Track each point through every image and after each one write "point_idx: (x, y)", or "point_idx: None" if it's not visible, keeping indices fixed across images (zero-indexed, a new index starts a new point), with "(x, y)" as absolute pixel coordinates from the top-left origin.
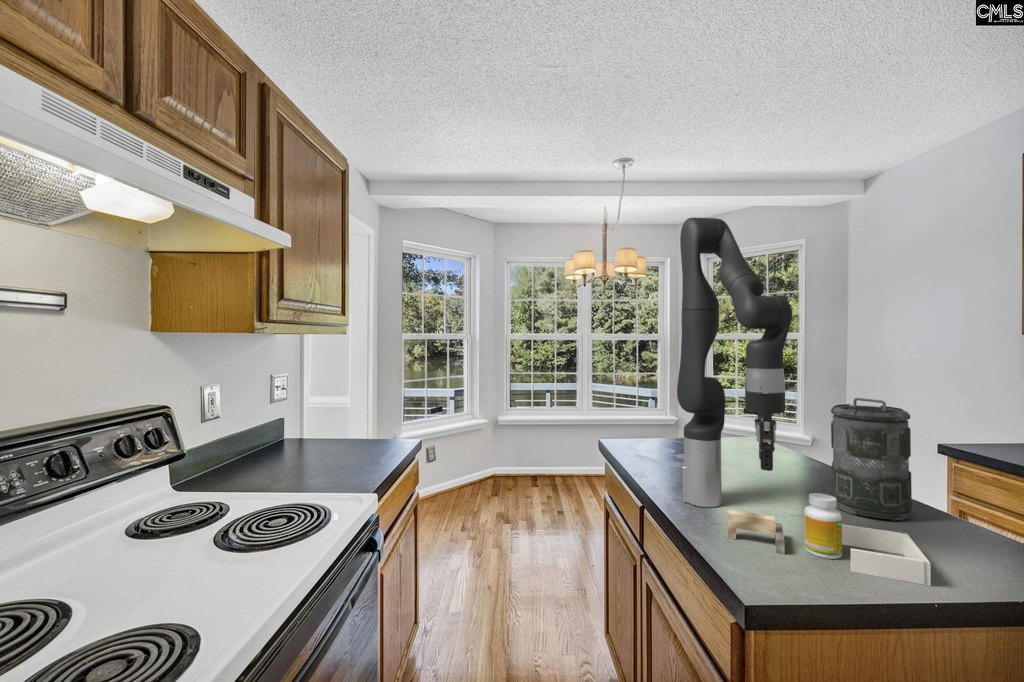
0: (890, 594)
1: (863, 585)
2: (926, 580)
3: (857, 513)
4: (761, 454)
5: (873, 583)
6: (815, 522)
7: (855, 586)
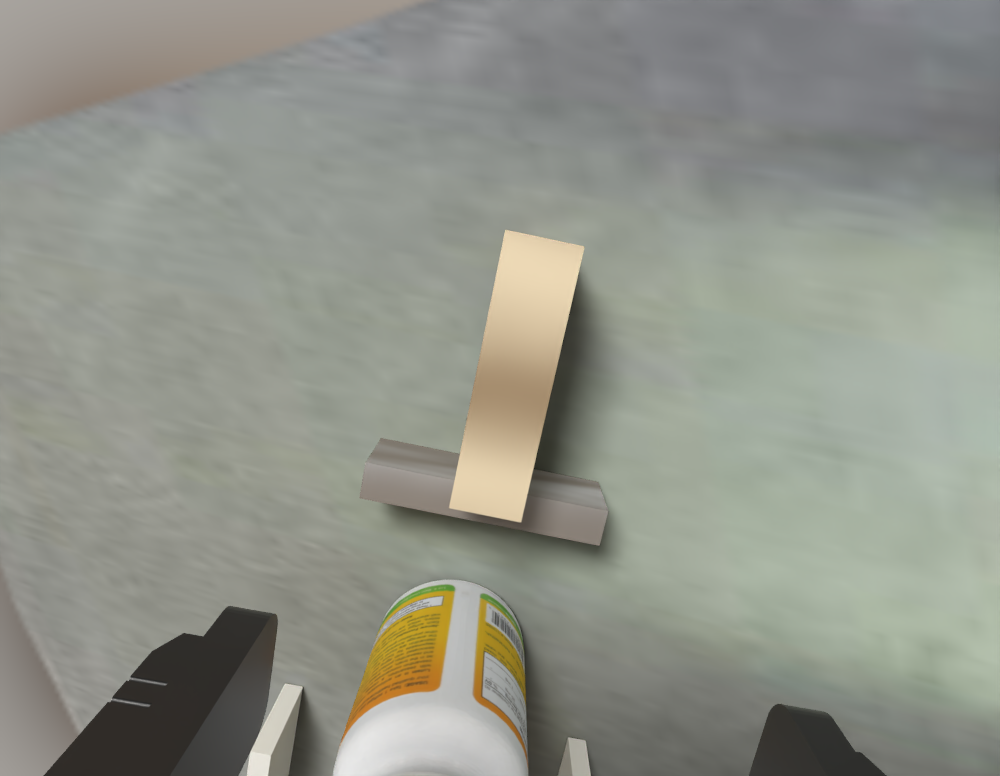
0: None
1: None
2: None
3: None
4: (119, 762)
5: None
6: (361, 706)
7: (153, 649)
